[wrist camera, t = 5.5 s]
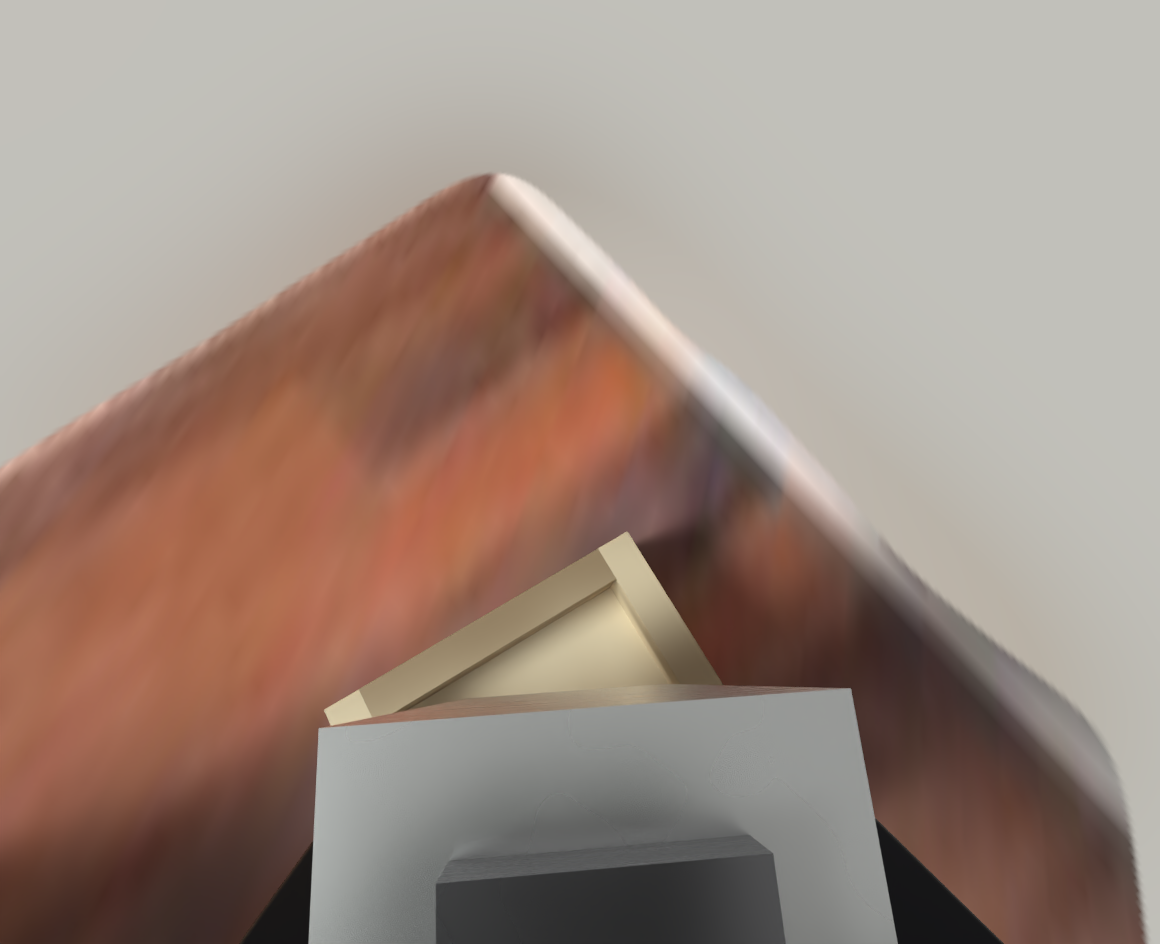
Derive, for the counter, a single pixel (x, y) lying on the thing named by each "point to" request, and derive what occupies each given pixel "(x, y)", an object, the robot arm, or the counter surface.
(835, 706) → the socket block
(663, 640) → the cream square holder
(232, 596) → the counter surface
